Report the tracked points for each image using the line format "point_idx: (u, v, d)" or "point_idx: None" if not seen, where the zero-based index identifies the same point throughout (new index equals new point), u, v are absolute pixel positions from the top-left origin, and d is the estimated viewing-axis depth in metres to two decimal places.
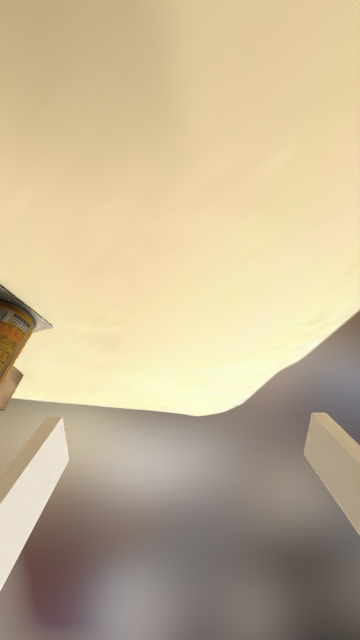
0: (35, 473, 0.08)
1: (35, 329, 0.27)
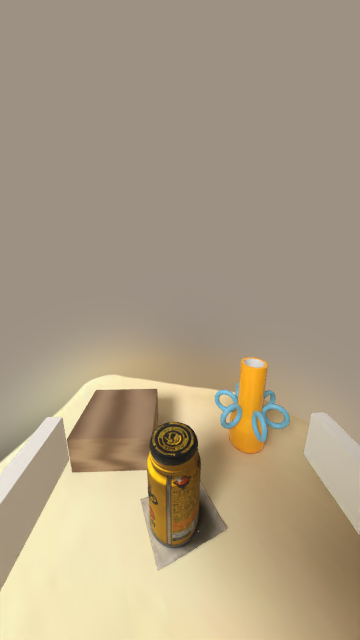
0: (35, 473, 0.08)
1: (153, 538, 0.24)
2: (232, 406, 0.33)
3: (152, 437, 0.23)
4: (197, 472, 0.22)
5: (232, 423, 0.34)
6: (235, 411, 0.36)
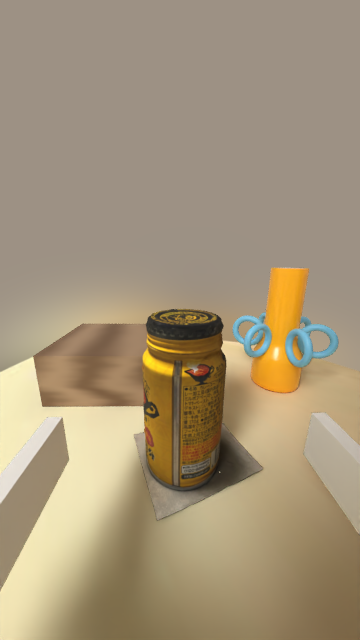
0: (35, 473, 0.08)
1: (151, 479, 0.15)
2: (260, 324, 0.24)
3: (151, 315, 0.15)
4: (222, 366, 0.14)
5: (258, 351, 0.26)
6: (260, 341, 0.28)
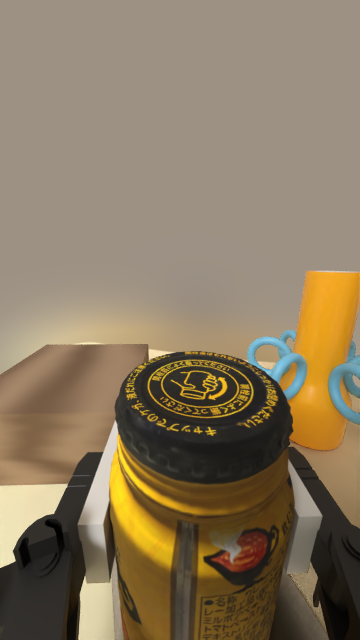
0: None
1: None
2: (293, 355, 0.16)
3: (128, 378, 0.07)
4: (292, 509, 0.06)
5: (289, 392, 0.18)
6: (288, 373, 0.20)
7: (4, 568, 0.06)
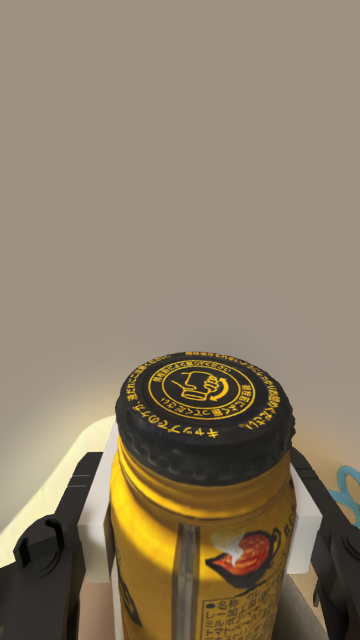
0: None
1: None
2: None
3: (129, 379, 0.07)
4: (294, 510, 0.06)
5: None
6: None
7: (4, 568, 0.06)
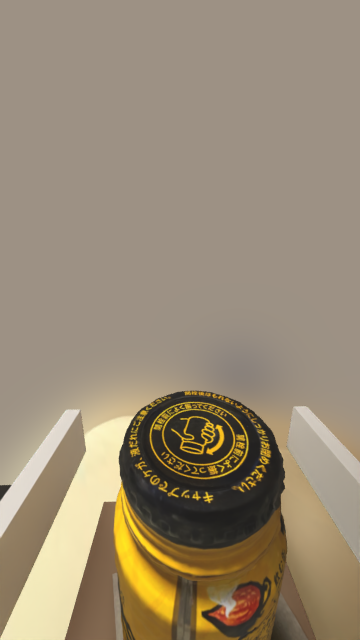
0: (59, 461, 0.09)
1: None
2: None
3: (132, 427, 0.07)
4: (284, 556, 0.06)
5: None
6: None
7: None
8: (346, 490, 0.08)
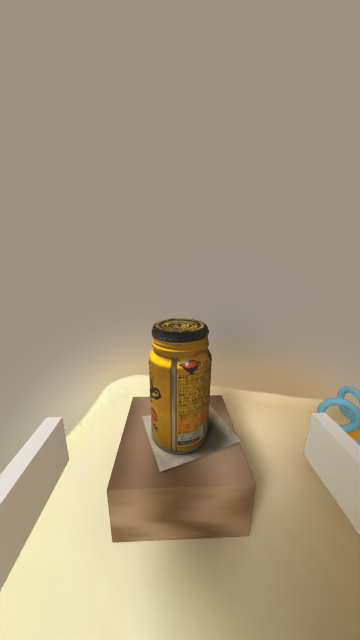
0: (35, 473, 0.08)
1: (155, 446, 0.21)
2: None
3: (155, 324, 0.20)
4: (208, 361, 0.19)
5: None
6: (359, 432, 0.23)
7: None
8: None
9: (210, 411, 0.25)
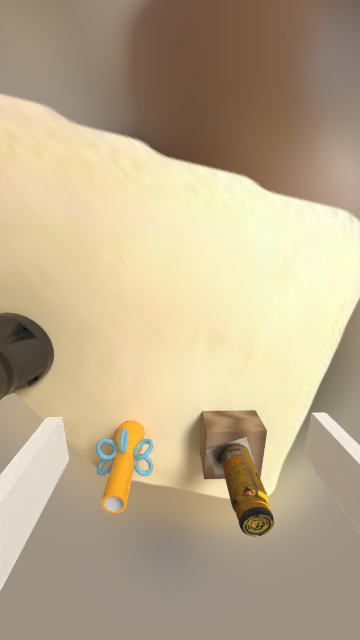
0: (35, 473, 0.08)
1: (247, 447, 0.42)
2: (142, 457, 0.39)
3: (272, 525, 0.32)
4: (236, 496, 0.34)
5: (142, 443, 0.42)
6: (137, 454, 0.43)
7: None
8: None
9: (215, 467, 0.43)
